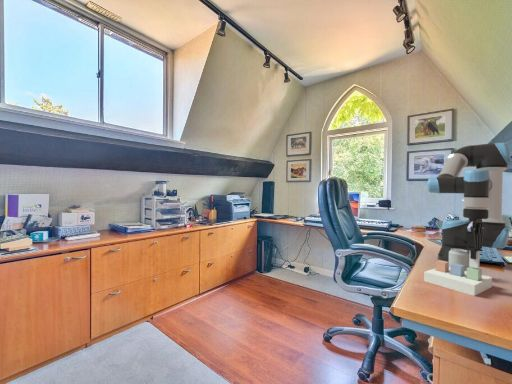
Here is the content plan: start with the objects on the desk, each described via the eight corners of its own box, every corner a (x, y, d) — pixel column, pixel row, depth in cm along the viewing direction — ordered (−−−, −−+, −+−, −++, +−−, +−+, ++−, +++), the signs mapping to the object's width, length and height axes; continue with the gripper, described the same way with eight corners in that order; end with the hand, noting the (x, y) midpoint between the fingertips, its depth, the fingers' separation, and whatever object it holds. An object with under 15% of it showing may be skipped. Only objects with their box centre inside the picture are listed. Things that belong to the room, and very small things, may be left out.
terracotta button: (439, 270, 109) (439, 259, 109) (448, 273, 106) (448, 262, 106) (435, 272, 107) (435, 261, 107) (444, 274, 104) (445, 263, 104)
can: (473, 278, 108) (473, 252, 108) (454, 277, 110) (454, 251, 110) (462, 273, 116) (463, 248, 116) (444, 271, 117) (445, 247, 117)
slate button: (453, 274, 104) (454, 263, 104) (464, 277, 101) (464, 265, 101) (450, 276, 103) (450, 264, 103) (460, 278, 99) (460, 266, 99)
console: (443, 274, 114) (443, 265, 114) (491, 286, 99) (492, 277, 99) (424, 280, 105) (424, 271, 105) (474, 296, 90) (474, 285, 90)
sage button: (470, 278, 100) (470, 266, 100) (481, 281, 97) (481, 269, 96) (466, 280, 98) (466, 268, 98) (477, 283, 95) (478, 270, 95)
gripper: (470, 207, 103) (469, 262, 104) (457, 208, 97) (455, 266, 97) (494, 208, 97) (492, 267, 97) (481, 209, 90) (480, 272, 91)
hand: (474, 266), depth 97 cm, fingers closed
